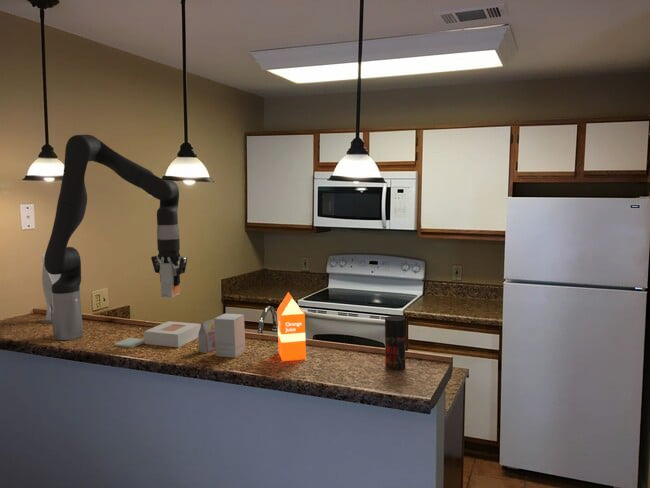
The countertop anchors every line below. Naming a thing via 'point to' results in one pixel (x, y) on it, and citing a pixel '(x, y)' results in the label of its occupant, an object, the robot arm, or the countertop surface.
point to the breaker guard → (172, 334)
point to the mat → (130, 342)
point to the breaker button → (173, 328)
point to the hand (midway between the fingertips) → (170, 285)
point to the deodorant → (395, 343)
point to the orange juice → (291, 330)
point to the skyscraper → (48, 291)
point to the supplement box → (229, 335)
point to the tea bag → (207, 337)
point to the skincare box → (168, 281)
